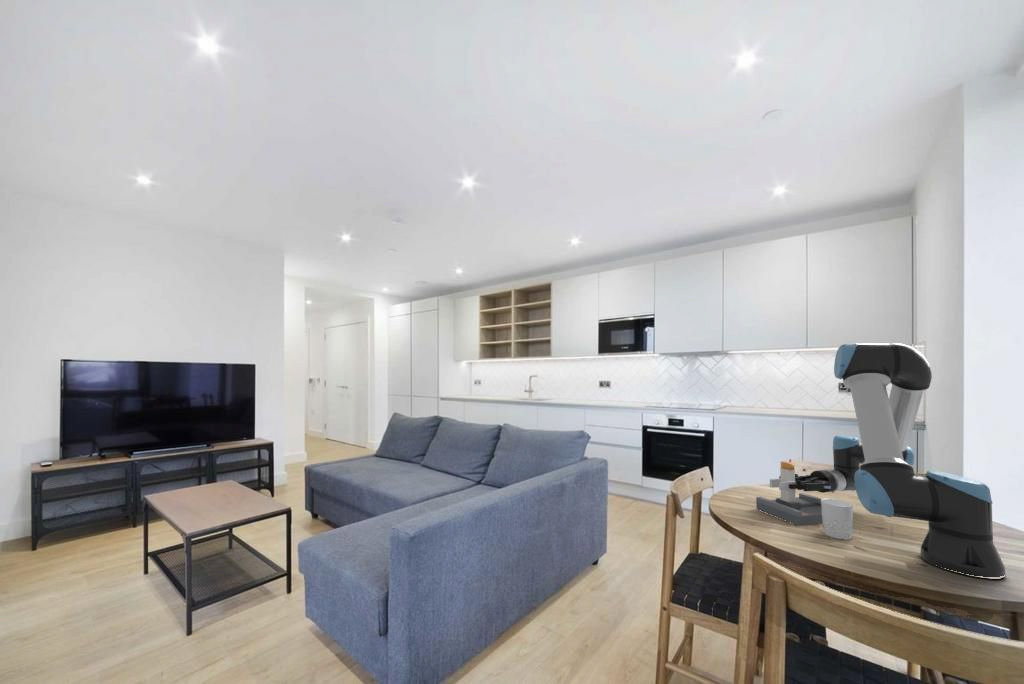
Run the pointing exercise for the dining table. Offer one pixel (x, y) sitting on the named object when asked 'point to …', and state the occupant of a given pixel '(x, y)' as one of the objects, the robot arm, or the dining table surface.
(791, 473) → the breaker handle
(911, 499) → the robot arm
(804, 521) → the base
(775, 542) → the dining table surface
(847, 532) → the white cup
